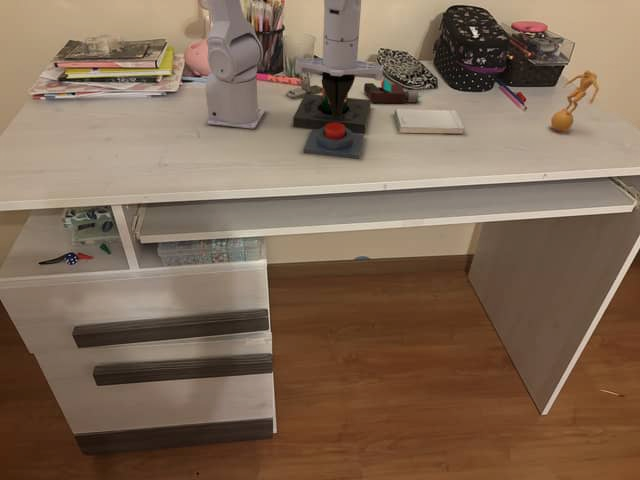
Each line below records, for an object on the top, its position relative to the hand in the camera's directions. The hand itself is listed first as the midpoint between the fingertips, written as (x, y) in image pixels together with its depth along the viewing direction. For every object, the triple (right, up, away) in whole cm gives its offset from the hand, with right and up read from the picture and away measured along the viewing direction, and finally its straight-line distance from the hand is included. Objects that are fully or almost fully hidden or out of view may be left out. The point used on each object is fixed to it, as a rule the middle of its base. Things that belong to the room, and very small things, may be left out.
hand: (336, 115), depth 91 cm
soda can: (0, +3, +13) cm, 14 cm away
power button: (0, -3, +2) cm, 4 cm away
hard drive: (+19, +1, +12) cm, 22 cm away
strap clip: (-6, +10, +23) cm, 26 cm away
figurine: (+46, 0, +12) cm, 47 cm away
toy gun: (+13, +10, +23) cm, 28 cm away
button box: (0, -5, +4) cm, 6 cm away
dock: (0, +3, +13) cm, 14 cm away
